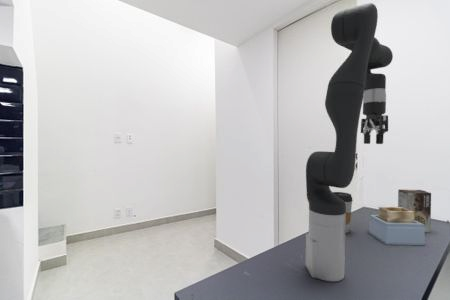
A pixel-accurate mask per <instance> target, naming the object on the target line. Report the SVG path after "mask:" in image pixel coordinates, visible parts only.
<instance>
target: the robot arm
mask: <svg viewBox="0 0 450 300" xmlns="http://www.w3.org/2000/svg"><path fill="white" fill-rule="evenodd" d="M378 15H379V14H378V9H377V6H376V4H374V3H372V2H370V3H363V4H360V5H356V6H353V7H350V8H346V9H344V10H341V11H339V12H337V13H335V14H334V15H333V17H332V19H331V23H330V24H331V25H330V33H331V37H332V39H333V41H334V43H336V44H337V45H338V46H341V47H343V48H344V49H346V50H348V51H350V53H349V55H348V56H347V58H346V59H345V60H344V61H343V62H342V63H341V65H340V66H339V67H338V68H337V70H336V71H335V72H334V73H333V74H332V76H331V77H330V80H329V82H328V84H327V89H326V95H325V100H324V101H325V102H324V106H325V110H326V112H327V115H328V117H329V119H330V121H331V124H332V125H333V127H334V130H335V136H336V138H335V147H334V151H320V150H319V151H314V152H312V153H310V155H309V157H308V158H307V162H306V165H305V181H306V184H305V185H306V188H305V189H306V199H307V202H308V233H307V232H306V234H305V267H306V270H307V271H308V273H309V275H310V276H311V277H312V278H313V279H314V278H315V279H319V280H322V281H326V282H340V281H342V280H343V279H344V277H345V267H346V266H345V256H346V255H345V254H346V253H345V251H346V249H345V248H346V233H345V222H346V204H345V202H344V201H343V200H342V199H340V198H339V197H337V196H336V195H335V194H334V193H333V191H332V190H331V188H330V187H332V188H339V189H345V188H347V187H349V186H350V184H351V183H352V181H353V178H354V175H355V170H356V159H357V158H356V157H357V155H356V153H357V143H358V142H357V141H358V140H357V139H358V138H357V137H358V129H359V123H360V134H362V135H363V144H366V145H369V144H371V133H372V132H373V131H374V130H375V132H376V135H375V144H376V145H383V144H384V135H385V133H386V132H387V133H388V132H389V115H385V114H386V109H387V108H386V106H387V93H386V92H387V91H386V87H387V86H386V83H387V82H386V81H387V77H386V75H385V74H384V73H373V72H372V70H375V69H381V68H385V67H388V66H390V64H391V63H392V61H393V57H394V55H393V51H392V49H390V47H389V46H387V45H384V44H382V43H380V41H379V40H378V39H377V37H375V35H376V31H377V25H378V17H379V16H378ZM361 111H362V115H364V116H366V117H365V118H361V121H360V115H361Z"/></svg>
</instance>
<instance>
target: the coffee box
mask: <svg viewBox="0 0 450 300" xmlns="http://www.w3.org/2000/svg"><path fill="white" fill-rule="evenodd" d="M397 195H398V196H397V202H398V203H397V207H403V208H406V209H408V210H411V211H413V212H414V220H415V221H417V222H420V223H422V224H424V228H425V233H431V226H432V225H431V223H432V222H431V221H432V219H431V218H432V217H431V216H432V193H431V192H430V191H429V192H428V191H426V190H422V189H398V194H397Z"/></svg>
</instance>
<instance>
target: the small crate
mask: <svg viewBox="0 0 450 300" xmlns="http://www.w3.org/2000/svg"><path fill="white" fill-rule="evenodd" d="M377 211H378V214H377V215H378V218H379V219H381V220H383V221H385V222H387V223H414V212H413V211H411V210H408V209H406V208H403V207H398V206H378V210H377Z"/></svg>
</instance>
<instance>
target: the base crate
mask: <svg viewBox="0 0 450 300" xmlns="http://www.w3.org/2000/svg"><path fill="white" fill-rule="evenodd" d="M368 233H369V234H370V235H372V236H373V237H374V238H376V239H377V240H379V241H381V242H382V243H384V244H385V245H391V246H393V245H397V246H399V245H402V246H403V245H404V246H426V243H425V241H426V239H425V237H426V232H425V228H424V224H422V223H420V222H417V221H415V220H414V223H387V222H385V221H383V220H381V219H379V218H378V214H370V215H369V218H368Z"/></svg>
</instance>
